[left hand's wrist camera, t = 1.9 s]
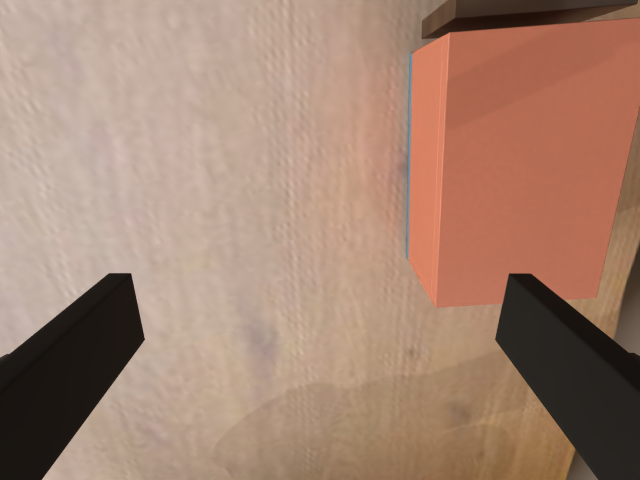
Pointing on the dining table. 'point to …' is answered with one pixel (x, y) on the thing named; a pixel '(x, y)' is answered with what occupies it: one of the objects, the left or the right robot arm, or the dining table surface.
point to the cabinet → (519, 156)
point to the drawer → (513, 14)
